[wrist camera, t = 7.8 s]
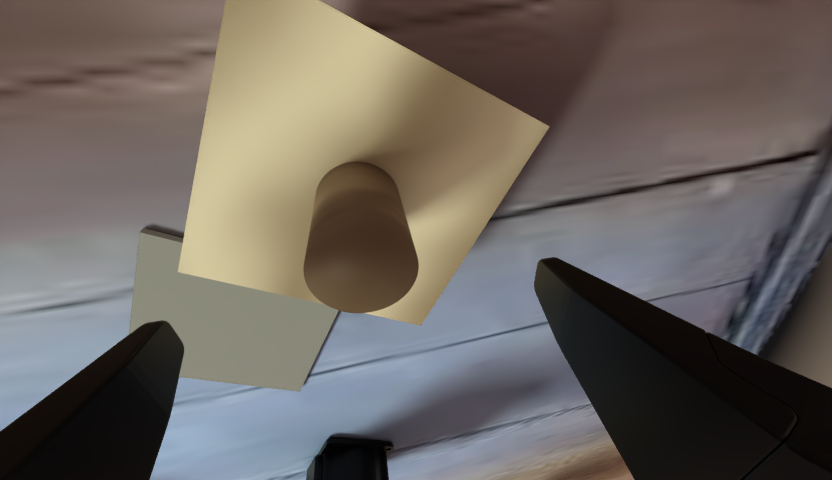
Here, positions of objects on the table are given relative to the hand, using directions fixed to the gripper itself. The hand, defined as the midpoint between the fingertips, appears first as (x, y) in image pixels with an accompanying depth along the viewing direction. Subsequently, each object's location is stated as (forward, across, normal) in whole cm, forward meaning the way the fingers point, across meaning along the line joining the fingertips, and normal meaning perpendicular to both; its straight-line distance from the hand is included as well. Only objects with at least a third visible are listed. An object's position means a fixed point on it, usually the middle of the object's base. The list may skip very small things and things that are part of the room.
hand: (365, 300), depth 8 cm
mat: (+10, +9, +10) cm, 17 cm away
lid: (+7, 0, 0) cm, 7 cm away
